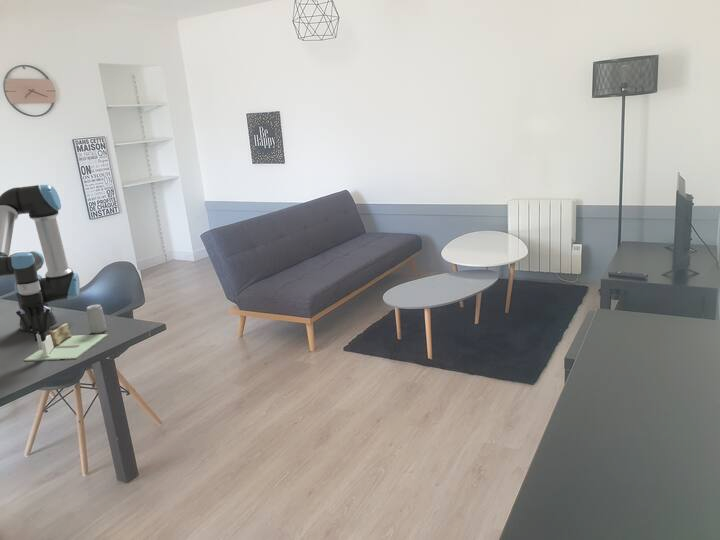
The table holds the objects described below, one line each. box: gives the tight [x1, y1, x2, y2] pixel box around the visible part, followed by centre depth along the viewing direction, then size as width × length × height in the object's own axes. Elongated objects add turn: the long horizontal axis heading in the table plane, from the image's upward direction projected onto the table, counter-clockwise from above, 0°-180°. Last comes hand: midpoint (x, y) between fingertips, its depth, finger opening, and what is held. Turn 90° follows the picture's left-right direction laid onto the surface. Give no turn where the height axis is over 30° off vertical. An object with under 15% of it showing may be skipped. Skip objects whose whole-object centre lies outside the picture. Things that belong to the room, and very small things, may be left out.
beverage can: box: [85, 303, 107, 335], centre depth 245 cm, size 6×6×12 cm
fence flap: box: [41, 334, 54, 357], centre depth 225 cm, size 9×2×6 cm, turn 14°
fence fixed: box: [46, 322, 73, 348], centre depth 235 cm, size 12×2×8 cm, turn 175°
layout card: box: [23, 333, 109, 362], centre depth 231 cm, size 24×22×1 cm
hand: (42, 348), depth 223 cm, fingers closed
